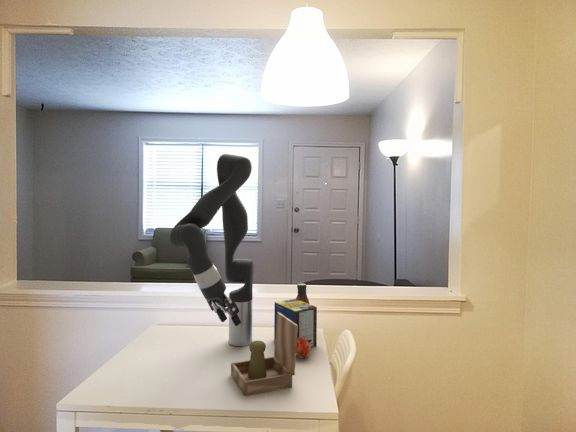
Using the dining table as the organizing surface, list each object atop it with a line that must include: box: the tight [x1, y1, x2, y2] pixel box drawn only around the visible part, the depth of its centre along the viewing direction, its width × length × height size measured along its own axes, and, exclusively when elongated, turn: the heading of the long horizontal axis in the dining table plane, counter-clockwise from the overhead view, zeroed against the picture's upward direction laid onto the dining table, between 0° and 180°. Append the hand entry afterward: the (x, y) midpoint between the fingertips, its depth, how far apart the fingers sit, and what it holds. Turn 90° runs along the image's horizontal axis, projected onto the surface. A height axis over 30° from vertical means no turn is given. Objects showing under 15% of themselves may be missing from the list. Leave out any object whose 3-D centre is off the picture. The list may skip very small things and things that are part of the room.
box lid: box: [273, 312, 298, 377], centre depth 132 cm, size 15×16×1 cm
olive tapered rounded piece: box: [248, 340, 267, 380], centre depth 131 cm, size 6×6×11 cm
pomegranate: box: [296, 337, 313, 359], centre depth 149 cm, size 7×7×10 cm
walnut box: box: [230, 356, 293, 397], centre depth 129 cm, size 15×15×4 cm
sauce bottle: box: [295, 283, 310, 304], centre depth 180 cm, size 7×6×20 cm
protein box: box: [273, 298, 318, 348], centre depth 163 cm, size 10×15×16 cm
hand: (231, 322), depth 135 cm, fingers open, 8 cm apart
